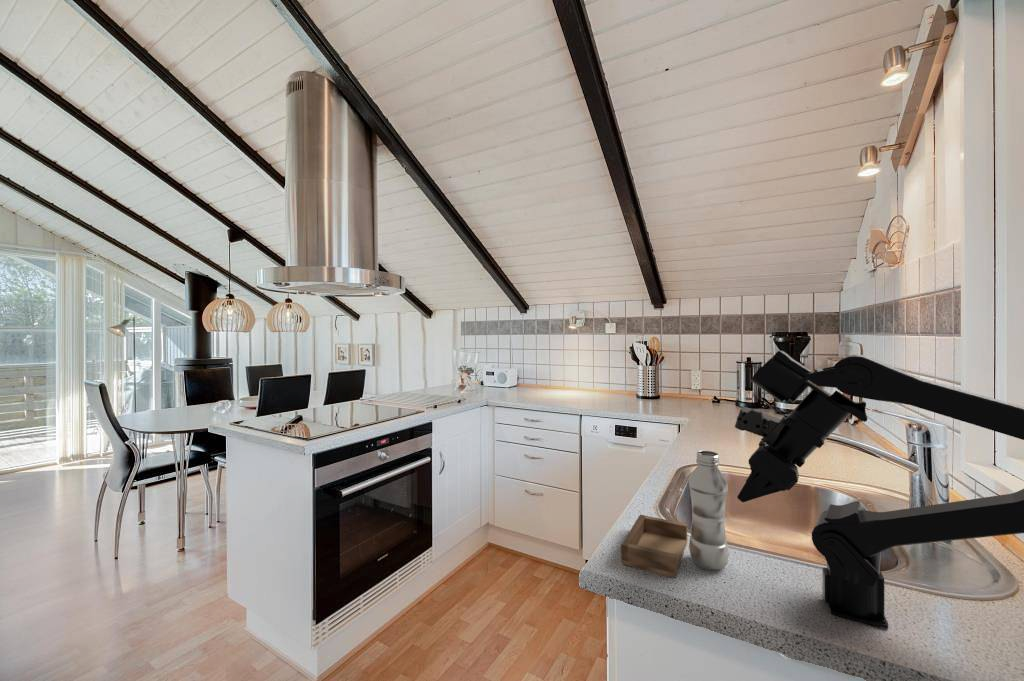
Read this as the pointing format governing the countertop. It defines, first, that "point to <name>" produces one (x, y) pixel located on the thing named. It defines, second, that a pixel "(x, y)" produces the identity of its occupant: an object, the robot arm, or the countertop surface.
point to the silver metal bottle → (708, 513)
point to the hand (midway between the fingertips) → (744, 491)
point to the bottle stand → (655, 545)
